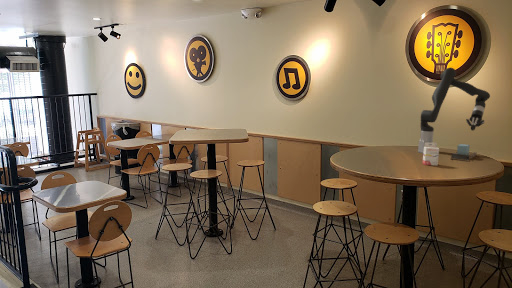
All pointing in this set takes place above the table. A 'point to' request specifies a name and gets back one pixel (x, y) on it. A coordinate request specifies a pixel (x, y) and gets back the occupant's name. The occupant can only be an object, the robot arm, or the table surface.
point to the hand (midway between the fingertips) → (472, 129)
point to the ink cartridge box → (430, 154)
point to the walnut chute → (462, 156)
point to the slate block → (463, 149)
